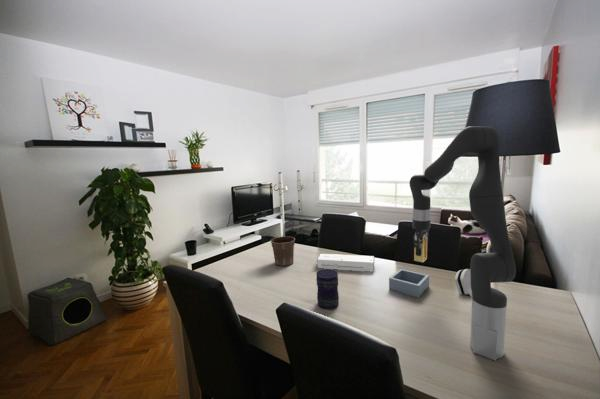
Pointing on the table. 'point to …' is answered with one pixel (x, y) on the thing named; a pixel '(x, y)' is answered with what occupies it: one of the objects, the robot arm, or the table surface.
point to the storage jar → (327, 289)
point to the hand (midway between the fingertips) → (420, 253)
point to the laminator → (346, 262)
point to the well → (409, 283)
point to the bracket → (423, 252)
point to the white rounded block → (463, 281)
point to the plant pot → (283, 250)
